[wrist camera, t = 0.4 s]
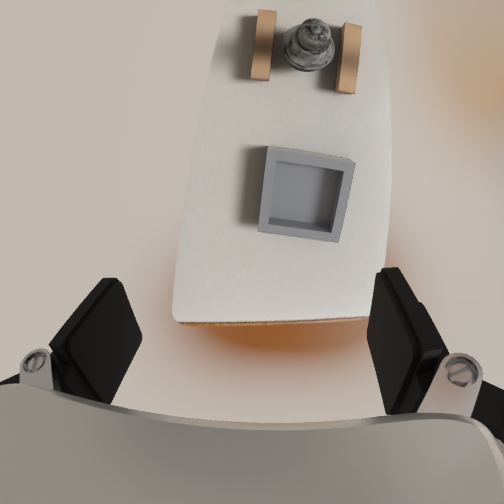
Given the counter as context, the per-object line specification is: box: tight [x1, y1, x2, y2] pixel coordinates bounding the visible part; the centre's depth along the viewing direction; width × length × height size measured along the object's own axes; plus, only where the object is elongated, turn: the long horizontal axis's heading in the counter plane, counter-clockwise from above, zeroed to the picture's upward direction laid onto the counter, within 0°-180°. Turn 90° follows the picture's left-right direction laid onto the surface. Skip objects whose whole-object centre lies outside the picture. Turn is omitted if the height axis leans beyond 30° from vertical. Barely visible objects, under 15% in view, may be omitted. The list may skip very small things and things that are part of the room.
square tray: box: [257, 146, 356, 243], centre depth 36 cm, size 10×10×3 cm
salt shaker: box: [282, 18, 335, 72], centre depth 24 cm, size 6×6×12 cm
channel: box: [251, 10, 362, 94], centre depth 28 cm, size 9×12×2 cm
